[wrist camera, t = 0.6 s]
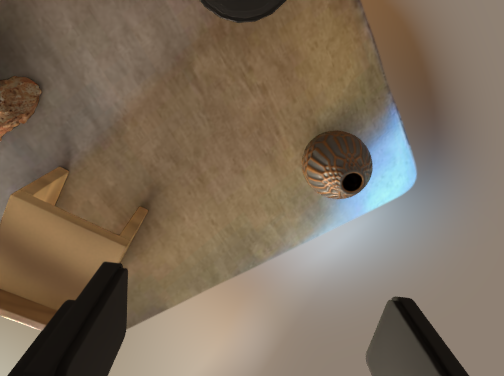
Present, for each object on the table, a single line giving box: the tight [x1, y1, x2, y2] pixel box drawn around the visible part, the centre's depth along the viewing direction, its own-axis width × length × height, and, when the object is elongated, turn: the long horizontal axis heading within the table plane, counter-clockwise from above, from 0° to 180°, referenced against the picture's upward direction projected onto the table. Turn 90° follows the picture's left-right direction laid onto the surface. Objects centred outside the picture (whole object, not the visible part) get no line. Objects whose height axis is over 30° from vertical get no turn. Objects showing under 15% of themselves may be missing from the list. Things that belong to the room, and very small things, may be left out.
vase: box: [302, 131, 372, 199], centre depth 31 cm, size 7×7×9 cm
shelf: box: [0, 167, 149, 331], centre depth 33 cm, size 12×11×10 cm
